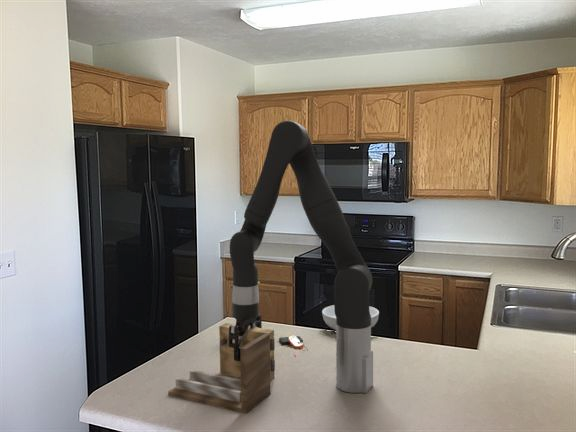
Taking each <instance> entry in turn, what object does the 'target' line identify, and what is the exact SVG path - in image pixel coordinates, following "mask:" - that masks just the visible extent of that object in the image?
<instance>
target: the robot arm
mask: <svg viewBox="0 0 576 432" xmlns="http://www.w3.org/2000/svg"><path fill="white" fill-rule="evenodd" d="M289 165H290V167H291V169H292V172H293V174H294V175H295V180H296V184H297V188H298V192H299V193H298V194H299V197H300V202H301V205H302V208H303V211H304V213H305V215H306V218H307V220H308V221H309V224H310V226H311V228H312V229H313V232H315V234H316V235H317V237H318V238H319V239H320V240H321V242H322V243H323V245H324V246H325V248H327V250H328V251H329V254H330V255H331V258H332V260H333V262H334V265H335V268H336V270H337V274H336V276H335V278H334V284H333V298H334V299H333V301H334V304H333V305H334V308H335V315H336V330H335V333H336V334H335V335H336V337H335V338H336V340H335V342H336V344H335V345H336V346H335V347H336V350H335V352H336V354H335V355H336V356H335V357H336V369H335V370H336V371H335V372H336V377H335V378H336V383H335V384H336V385H335V386H336V387H337V389H339V390H340V391H343V392H346V393H351V394H356V393H357V394H359V393H363V394H367V393H368V392H369V391H370V389H371V388H372V387H373V385H374V350H372V328H371V315H370V311H369V306H370V290H371V289H372V286H373V275H372V274H373V273H371V271H370V267H368V265H367V263H366V262H365V259H364V258H363V257H362V255H361V253H360V251H359V249H358V247H357V246H356V243H355V241H354V240H353V237H352V233H351V231H350V229H349V225H348V223H347V220H346V219H345V215H344V214H343V213H344V212H343V210H342V208H341V206H340V204H339V201H338V199H337V197H336V194H335V193H334V192H333V189H332V187H331V185H330V183H329V181H328V179H327V177H326V175H325V173H324V172H323V170H322V169H321V166H320V163H319V161H318V159H317V157H316V154H315V149H314V146H313V144H312V141H311V138H310V135H309V133H308V131H307V129H306V128H305V127H304V126H303V125H302V124H299V123H298V122H295V121H292V120H283V121H280V122H279V123H278V124H277V125H275V127H274V128H273V130H272V132H271V136H270V139H269V144H268V147H267V152H266V155H265V159H264V162H263V165H262V168H261V171H260V175H259V177H258V179H257V181H256V182H257V183H256V185H255V188H254V189H253V192H252V194H251V197H250V199H249V201H248V203H247V206H246V209H245V211H244V213H243V218H244V221H243V224H242V226H241V229H240V231H237V232H236V233H234V234H232V236H231V239H230V241H229V256H230V262H231V266H232V270H233V271H232V292H231V293H232V295H231V299H232V301H231V302H232V303H231V304H232V305H231V306H232V307H231V309H232V317H233V318H234V319H235V320H236V321H235V324H236V325H235V326H229V347H232V348H234V360H235V361H239V362H240V361H241V357H240V348H241V347H242V345H243V342H244V341H245V340H246V337H247V334H248V331H249V330H250V328H254V327H258V328H263V327H262V326H263V325H262V324H263V323H262V315H261V314H260V292H259V291H260V290H259V284H258V281H259V270H258V267H257V265H256V264H255V255H254V253H256V252H257V250H258V249H259V248H260V245H261V243H262V241H263V238H264V235H265V231H266V228H267V225H268V223H269V220H270V218H271V216H272V214H273V211H274V209H275V207H276V205H277V204H276V203H277V201H278V197H279V194H280V191H281V190H280V189H281V187H282V186H281V185H282V180H283V178H284V175H285V173H286V171H287V168H288V166H289ZM239 335H240V336H242V337H239ZM232 339H234V341H233V343H232ZM239 340H240V342H239V344H238V341H239Z"/></svg>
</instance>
